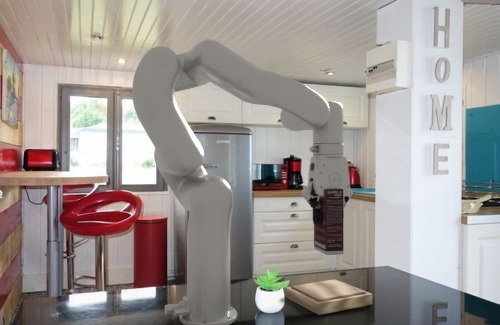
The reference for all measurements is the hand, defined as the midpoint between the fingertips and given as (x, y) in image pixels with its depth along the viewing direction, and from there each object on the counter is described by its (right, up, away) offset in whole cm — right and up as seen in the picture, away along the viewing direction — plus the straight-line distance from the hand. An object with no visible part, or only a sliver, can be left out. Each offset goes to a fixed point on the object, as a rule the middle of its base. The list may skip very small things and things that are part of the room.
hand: (328, 222), depth 102 cm
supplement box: (0, -7, 0) cm, 7 cm away
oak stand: (0, -19, 0) cm, 19 cm away
